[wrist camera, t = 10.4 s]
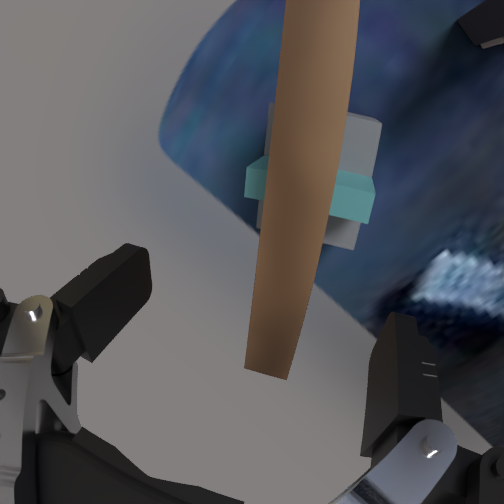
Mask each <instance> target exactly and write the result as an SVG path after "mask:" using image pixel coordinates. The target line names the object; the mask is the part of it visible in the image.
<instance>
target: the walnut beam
mask: <svg viewBox="0 0 504 504" xmlns="http://www.w3.org/2000/svg"><path fill="white" fill-rule="evenodd" d="M359 5H360V0H286V5H285V15H284V24H283V34H282V43H281V53H280V62H279V71H278V81H277V90H276V99H275V108H274V117H273V126H272V135H271V144H270V153H269V162H268V171H267V179H266V188H265V197H264V206H263V214H262V223H261V232H260V240H259V249H258V258H257V266H256V274H255V283H254V291H253V300H252V308H251V316H250V325H249V333H248V341H247V349H246V358H245V366H244V368H245V369H249V370H252V371H256V372H259V373H262V374H266V375H270V376H274V377H277V378H281V379H285V380H287V377H288V374H289V370H290V367H291V364H292V360H293V357H294V353H295V350H296V346H297V343H298V339H299V336H300V332H301V328H302V325H303V321H304V317H305V313H306V310H307V306H308V302H309V298H310V294H311V290H312V286H313V282H314V278H315V274H316V270H317V266H318V261H319V257H320V253H321V248H322V244H323V240H324V235H325V231H326V226H327V221H328V217H329V212H330V207H331V202H332V197H333V192H334V187H335V182H336V176H337V171H338V165H339V160H340V154H341V148H342V143H343V137H344V130H345V124H346V118H347V111H348V104H349V97H350V90H351V83H352V75H353V67H354V58H355V49H356V40H357V30H358V18H359Z"/></svg>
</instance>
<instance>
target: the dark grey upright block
mask: <svg viewBox="0 0 504 504" xmlns="http://www.w3.org/2000/svg"><path fill="white" fill-rule="evenodd" d="M457 22H458V23H459V25H460V26H461V27H462V29H463V30H464V31H465V33H466V34H467V36H468V37H469V38H470V40H471V41H472V43H473V44H474V45H475V46H477V45H481V47H482V48H483V49H484V48H488V47H491V46H494V45H498V44H502V43H504V0H485V1H484V2H482V3H481V4H479V5H478V6H476V7H475V8H473V9H472V10H470V11H469V12H467V13H466V14H464V15H463V16H461V17H460V18H459V19H457Z"/></svg>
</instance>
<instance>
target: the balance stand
mask: <svg viewBox="0 0 504 504" xmlns="http://www.w3.org/2000/svg"><path fill="white" fill-rule="evenodd" d="M274 108H275V103H269V112H268V122H267V131H266V140H265V149H264V156H262V157H261V158H259V159H258V160H256V161H255V162H254V163H252V164H251V165H249V166H248V167H247V170H246V182H245V193H244V197H247V198H252V199H257V200H259V205H258V214H257V223H256V228H259V229H261V223H262V214H263V206H264V197H265V188H266V179H267V171H268V162H269V153H270V144H271V135H272V126H273V117H274ZM381 128H382V123H380V122H379V121H378V120H376V119H375V118H372V117H368V116H363V115H359V114H354V113H350V112H347V118H346V124H345V130H344V137H343V143H342V148H341V154H340V160H339V165H338V171H337V176H336V182H335V187H334V192H333V197H332V202H331V207H330V212H329V217H328V221H327V226H326V231H325V235H324V240H323V243H325V244H329V245H333V246H338V247H342V248H346V249H350V250H354V246H355V243H356V239H357V235H358V232H359V228H360V224H361V223H365V224H368V222H369V218H370V214H371V210H372V206H373V202H374V198H375V190H374V185H373V181H372V173H373V169H374V164H375V159H376V154H377V149H378V144H379V139H380V133H381Z"/></svg>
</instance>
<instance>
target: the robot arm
mask: <svg viewBox="0 0 504 504" xmlns="http://www.w3.org/2000/svg"><path fill="white" fill-rule="evenodd" d="M151 292H152V280H151V270H150V261H149V253H148V251H147V249H145V248H143V247H139V246H135V245H132V244H129V243H126V244H124V245H122V246H121V247H120V248H119V249H117V250H116V251H115V252H113V253H111V254H109V255H107V256H104V257H102V258H99V259H98V260H96V261H95V262H94V263H92V264H91V265H90V266H89V267H88V269H87V268H86V269H85V270H83V271H82V272H81V273H80V275H77V276H76V277H75V278H73V279H72V280H71V281H70V282H69V283H67V284H66V285H65V286H64V287H62V288H61V289H60V290H59V291H58V292H56V293H55V294H54V295H53V296H52V297H50V298H48V297H46V296H43V295H36V296H32V297H29V298H27V299H25V300H23V301H22V302H21V303H20V304H16V303H11V302H8V301H7V299H6V297H5V294H4V292H3V290H2V289H1V288H0V504H244V502H243V501H240V500H237V499H234V498H230V497H227V496H224V495H221V494H218V493H215V492H213V491H210V490H207V489H204V488H202V487H199V486H193V485H187V484H181V483H175V482H171V481H166V480H161V479H156V478H152V477H150V476H148V475H146V474H145V473H144V472H142V471H141V470H140V469H139V468H138V467H137V466H135V465H134V464H133V463H132V462H131V461H130V460H129V459H128V458H126V457H125V456H124V455H123V454H122V453H121V452H120V451H119V450H118V449H117V448H116V447H115V446H113V445H111V444H109V443H108V442H106V441H104V440H102V439H101V438H99V437H98V436H96V435H95V434H93V433H91V432H89V431H88V430H87V429H85V428H83V427H81V424H80V422H79V419H78V415H77V375H78V365H77V362H76V360H77V359H78V358H79V357H80V356H81V357H83V358H84V359H86V360H88V361H90V362H91V363H92V362H93V361H94V360H95V359H96V358H97V357H98V355H99V354H100V353H101V352H102V351H103V350H104V349H105V347H106V346H107V345H108V344H109V343H110V342H111V341H112V339H114V337H115V336H116V335H117V334H118V333H119V332H120V331H121V330H122V329H123V327H124V326H125V325H126V324H127V323H128V322H129V321H130V320H131V319H132V317H133V316H134V315H135V314H136V313H137V312H138V311H139V310H140V309H141V308H142V307H143V306H144V305H145V303H146V302H147V301H148V300H149V298H150V295H151ZM435 365H436V361H435V354H434V349H433V348H432V346H431V344H430V343H429V341H428V339H427V338H426V336H421V335H418V330H417V323H416V319H415V317H413V316H409V315H404V314H400V313H395V312H391V313H390V315H389V316H388V318H387V320H386V323H385V325H384V327H383V329H382V331H381V333H380V335H379V337H378V340H377V342H376V344H375V346H374V348H373V350H372V354H371V357H370V362H369V371H368V387H367V400H366V410H365V411H366V412H365V420H364V429H363V439H362V445H361V454H360V456H363V457H371V458H372V460H371V467H370V468H369V469H368V470H367V471H366V472H365V473H364V474H363V475H362V476H361V477H359V478H358V479H357V480H356V481H355V482H354V483H353V484H351V485H350V486H349V487H348V488H347V489H346V490H344V491H343V492H342V493H341V494H339V495H338V496H337V497H336V498H335V499H333V500H332V501H331V502H330V503H328V504H504V448H503V447H493V448H491V449H489V450H488V451H486V452H485V453H484V454H483V455H480V454H478V453H475V452H473V451H470V450H468V449H465V448H462V447H461V446H459V445H457V441H456V438H455V435H454V433H453V432H452V430H451V429H450V428H449V427H448V426H447V425H446V424H444V423H443V420H442V409H441V399H440V390H439V382H438V378H437V375H438V374H437V367H436V366H435Z"/></svg>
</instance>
